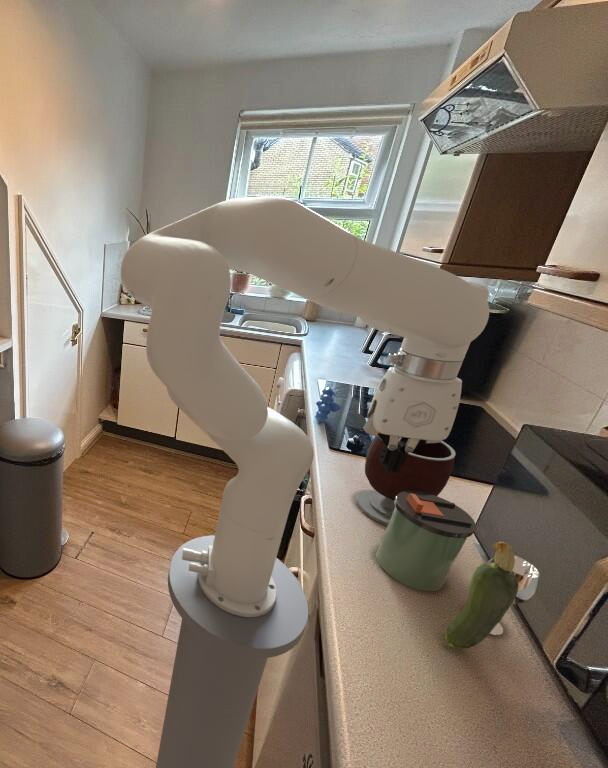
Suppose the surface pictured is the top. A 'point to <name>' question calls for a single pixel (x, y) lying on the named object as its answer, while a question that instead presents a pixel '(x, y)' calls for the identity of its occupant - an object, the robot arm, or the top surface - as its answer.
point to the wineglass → (521, 585)
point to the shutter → (423, 506)
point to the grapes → (326, 405)
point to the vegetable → (485, 600)
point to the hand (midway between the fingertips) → (388, 467)
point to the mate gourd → (404, 477)
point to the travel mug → (423, 541)
